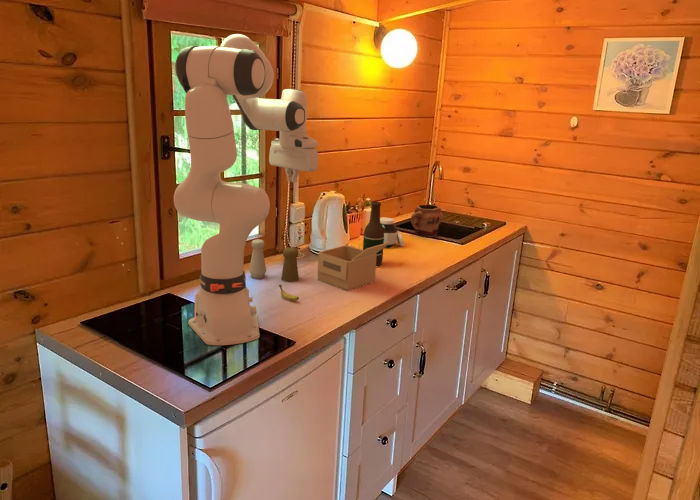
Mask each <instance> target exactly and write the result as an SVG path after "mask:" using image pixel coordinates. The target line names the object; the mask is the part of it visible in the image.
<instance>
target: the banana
mask: <svg viewBox="0 0 700 500" xmlns="http://www.w3.org/2000/svg"><path fill="white" fill-rule="evenodd" d="M278 287H279V288H280V296H281V297H282V298H284V299H285V300H286V301H287V300H288V301H291V302H297V301H298V300H299V299H300V297H299V296H297V295H292V294H291V293H290V294H289V293H287V292H286V291H285V290H284V289H283V288H282V284H278Z"/></svg>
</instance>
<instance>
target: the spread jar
mask: <svg viewBox="0 0 700 500" xmlns="http://www.w3.org/2000/svg"><path fill="white" fill-rule="evenodd" d="M380 224H381V226H382V227H383V230H384V243H388V242H390V244H388V245H387V246H386V247H384V248H383V249H391V248H393V247H394V246H395V245H396V244H398V246H399V247H404V245H405V242H404V238H403V235H402V233H401V231H400V230H398V228H397V227H396V224H395V219H394V218H391V217H383V216H382V217H381V216H380Z"/></svg>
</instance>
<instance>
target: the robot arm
mask: <svg viewBox="0 0 700 500" xmlns="http://www.w3.org/2000/svg"><path fill="white" fill-rule="evenodd" d="M174 64H175V65H174V67H175V69H174V70H175V73H176V74H175V75H176V77H177V78H176V79H177V80H178V82H179V84H180V86H181V87H182V89H183V90H184V93H186V94H185V97H184V98H185V99H184V113H185V114H184V117H185V118H184V119H185V127H186V132H187V140H188V146H189V152H190V153H189V154H190V168H189V172H188V175H187V176H186V178H185V179H183V180H182V181H181V182H180V183H179V184H178V185H177V186H176V189H175V190H174V194H173V205H174V208H175V209H176V211H177V213H178V214H179V215H180V216H183V217H185V218H188V219H189V220H190V219H191V220H193V221H197V222H204V223H205V222H207V223H216V224H219V233H217V234H215V235H212V236H210V237H208V238H207V239H205V240H204V241H203V244H202V245H201V248H200V252H201V253H200V257H201V259H200V260H201V261H200V262H201V271H200V272H199V273H200V274H199V283H200V285H199V286H200V288H199V289H198V291H197V292H196V293H195V294H194V317H191V318H190V319H189V320H188V321H187V322H188V323H187V324H188V325H189V327H190V328H191V329H192V330H193V331H194V333H196V335H197V336H198V337H199V338H200V339H201V340H202V341H203V343H205V344H206V345H208V346H228V345H229V346H231V345H237V344H244V343H249V342H252V341H254V340H257V339H259V338H260V336H261V335H260V329H259V320H258V313H257V306H256V305H251V303H253V302H254V300H253V299H254V298H253V296H250V289H249V288H248V287H247V281H246V280H247V279H246V272H245V269H244V262H245V261H244V260H245V259H244V258H245V247H246V243H247V240H248V238H249V235H250V234H251V233H252V232H253V230H255V228H257V227H259V225H262V224H263V222H265V220H266V219H267V218H268V215H269V213H270V207H271V203H270V198H269V196H268V194H267V192H266V191H265V189H263V188H260V187H258V186H255V185H252V184H249V183H242V182H233V181H231V182H230V181H225V180H222V178H221V173H224V172H225V171H227V170H229V169H230V168H231V167H233V165H234V164H235V163H236V161H237V156H238V153H237V143H236V136H235V128H234V122H233V118H232V117H233V116H232V113H231V108H230V104H229V102H228V98H227V97H228V96H232V97H233V100H234V102H235V104H236V105H237V107H238V110H239V111H240V113H241V118H242V121H243V122H244V124H245V126H246V127H247V128H249V130H251V131H275V132H276V131H277V132H279V138H278V137H274V138H273V140H271V143H270V145H271V146H270V148H269V156H268V162H269V163H268V164H270V166H274V167H279V168H284V172H285V174H286V179H287V180H286V181H287V182H289V183H297V182H298V177H299V174H300V173H301V171H303V172H304V171H305V172H310V173H311V172H316V171H317V169H318V165H319V156H318V155H319V154H318V150H317V148H318V145H319V143H318V142H319V141H317V140H316V139H314V138H313V137H311V136H310V135H307V132H308V131H307V126H306V123H307V120H308V103H307V95H306V94H307V93H305V91H303V90H301V89H297V88H284V89H283V90H282V91H281V98H280V99H279V98H278V99H276V98H262V97H263V96H264V95H266V94H267V93H268V91H269V90H270V89H271V88H272V85H273V82H274V78H275V73H274V69H273V66H272V64H271V62H270V61H269V59H268V58H267V56H266V55H265V53H264V52H263V51H262V49H261V48H260V47H259V46H258V45H257V44H256V43H255V42H254V41H253V40H252V39H251V38H249V37H248V36H246V35H244V34H242V33H235V34H230V35H228V36H227V37H225V38H224V40H223V41H222V43H221V44H220V45H204V46H198V45H190V46H187V47H184V48H182V49H181V50H180V51H179V52H178V55H177V56H176V59H175V63H174Z"/></svg>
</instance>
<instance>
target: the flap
mask: <svg viewBox="0 0 700 500" xmlns="http://www.w3.org/2000/svg"><path fill="white" fill-rule="evenodd" d="M388 244H390V242H388V243H384V244H381V245H377V246H374V247H370V248H366V249H365V250H364V251H362V252H361V253H360V254H358V255H357V256H356V257H354V258H353V259H352V261H354V260H357V259H360V258H364V257H367V256H371V255H374V254H376V253H377V252H379V251H380V250H382V249H383V250H384V249H385V248H384V247H386V246H387V245H388Z"/></svg>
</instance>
